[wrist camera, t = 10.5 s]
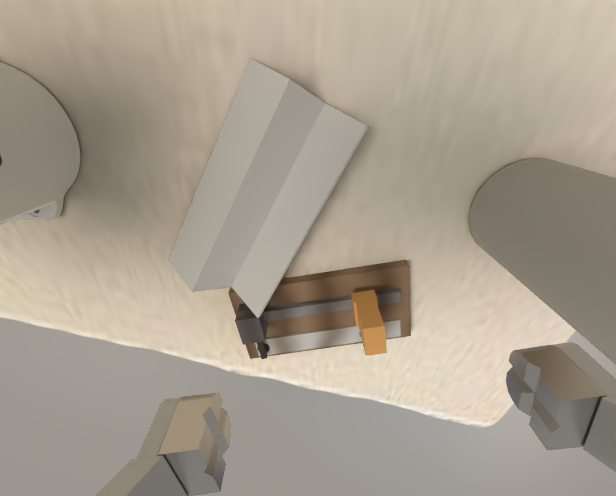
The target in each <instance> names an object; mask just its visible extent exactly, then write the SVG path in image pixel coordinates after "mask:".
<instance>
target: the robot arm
mask: <svg viewBox="0 0 616 496" xmlns="http://www.w3.org/2000/svg"><path fill="white" fill-rule="evenodd" d="M79 166H80V148H79V142H78V139H77V135H76V132H75V130H74V127H73V125H72V123H71V121H70V119H69V117H68V116H67V114H66V113H65V111H64V109H63V108H62V107H61V105H60V104H59V103H58V102H57V100H56V99H55V98H54V97H53V96H52V95H51V94H50V93H49V92H48V91H47V90H46V89H45V88H44V87H43V86H42V85H41V84H39V83H38V82H37V81H36V80H34V79H33V78H31V77H30V76H28V75H27V74H25V73H23V72H22V71H20V70H18V69H16V68H14V67H12V66H9V65H7V64H5V63H2V62H0V224H3V223H5V222H8V221H11V220H13V219H36V220H50V219H53V218H56V217H58V216H60V214H61V212H62V208H63V201H64V195H65V193H66V192H67V190H68V189H69V188H70V186H71V185H72V184H73V182H74V181H75V179H76V177H77V174H78V171H79ZM38 209H39V210H40V211H39V210H38ZM509 362H510V363H511V364H512V366H513V367H512V368H511V369H510V370H509V371H508V372H507V377H506V384H507V388H508V392H509V394H510V396H511V398H512V400H513V402H514V403H515V405H516V406H517V408H518V409H519V410H521V411H523V412H524V413H526V414H527V415H529V416H530V421H529V425H530V427H531V428H532V429H533V431H534V432H535V434H536V435H537V436H538V438H539V439H540V441H541V442H542V444H543V445H544V447H545V448H546V449H547V450H555V449H565V448H575V447H583V449H584V450H585V451H587V452H589V453H590V454H591V455H592V456H594V457H595V458H597V459H598V460H599V461H601V462H602V463H604V464H605V465H606V466H608V467H609V468H611V469H612V470H613V471H615V472H616V379H615V378H614V377H613V376H612V375H611V374H610V373H609V372H608V371H606V370H605V369H604V368H603V367H602V366H601V365H600V364H598V362H597V361H595V360H594V359H593V358H592V357H591V356H590V355H589V354H588V353H587V352H585V351H584V350H583V349H582V348H581V347H580V346H579V345H577V344H575V343H573V342H569V343H562V344H555V345H546V346H540V347H533V348H527V349H520V350H514V351H513V352H512V353H511V354H510V358H509ZM222 402H223V400H222V398H221V396H220V394H219V393H211V394H201V395H192V396H183V397H177V398H168V399H165V400H164V401H163V402H162V403H161V404H160V406H159V408H158V411H157V413H156V415H155V418H154V420H153V422H152V424H151V427H150V429H149V431H148V434H147V436H146V438H145V440H144V443H143V445H142V447H141V450H140V452H139V454H138V456H137V459H131V460H130V461H129V462H128V463H127V464H126V465H125V466H124V467H123V468H122V469H121V470H120V471H119V472H118V473H117V474H116V475H115V476H114V477H113V478H112V479H111V480H110V481H109V482H108V483H107V484H106V485H105V486H104V487H103V488H102V489H101V490H100V491H99V492H98V493H97V494H96V495H95V496H194V495H200V494H207V493H213V492H219V491H221V485H222V480H223V475H224V470H225V465H226V464H225V461H224V459H223V457H222V455H223V454H224V453H225V452H226V450H227V449H228V448H229V444H230V438H231V422H230V417H229V414H228V412H227V411H226V410H224V409H223V408H221V407H222Z"/></svg>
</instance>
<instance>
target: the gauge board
mask: <svg viewBox="0 0 616 496" xmlns="http://www.w3.org/2000/svg"><path fill="white" fill-rule="evenodd" d="M369 290H374V291H375V294H376V296H377V299H378V309H379V311H380V314H381V317H382V320H383V323H384V325H385V337H386V339H392V338H399V337H406V336H411V329H410V289H409V265H408V263H407V262H406V260H403V261H396V262H390V263H383V264H377V265H370V266H364V267H357V268H351V269H344V270H338V271H331V272H325V273H318V274H312V275H305V276H299V277H292V278H286V279H281V281H280V283H279V284H278V286H277V288H276V289H275V291H274V293H273V295H272V296H271V298H270V300H269V302H268V303H267V305H266V307H265V309H264V310H263V312H262V314H261V316H260V317H259V318H257V317H256V316H255V314H254V313H253V312H252V311H251V310H250V308H249V307H248V306H247V305H246V304H245V302H244V301H243V300H242V299H241V298H240V296H239V295H238V294H237V293H236V292H235V291H234V289H233V288H232V287H231V288H230V291H229V296H230V299H231V302H232V305H233V308H234V311H235V314H236V320H235V322H236V325H237V328H238V331H239V334H240V337H241V340H242V343H243V345H244V344H246V347H247V350H248V353H249V356H250V359H251V358H259V357H261V359H265V358H267V356H273V355H280V354H287V353H294V352H301V351H308V350H315V349H322V348H329V347H336V346H343V345H350V344H357V343H363V342H362V338H361V334H360V330H359V327H356V323H355V319H354V313H353V305H352V297H351V293H355V292H362V291H369Z"/></svg>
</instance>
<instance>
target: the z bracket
mask: <svg viewBox="0 0 616 496" xmlns="http://www.w3.org/2000/svg"><path fill="white" fill-rule="evenodd" d="M368 128H369V127H368V126H367V125H365V124H363V123H361V122H359V121H357V120H356V119H354V118H352V117H350V116H348V115H346V114H344V113H343V112H341V111H339V110H337V109H335V108H333V107H331V106H330V105H328V104H326V103H324V102H323V101H321V100H320V99H318V98H317V97H316V96H314V95H313V94H311V93H310V92H308V91H307V90H305V89H304V88H302V87H301V86H299V85H298V84H297V83H295V82H294V81H292V80H291V79H289V78H287V77H285V76H283V75H281V74H280V73H278V72H276V71H274V70H272V69H270V68H268V67H266V66H264V65H262V64H261V63H259V62H257V61H255V60H253V59H251V58H250V61H249V63H248V66H247V68H246V70H245V73H244V75H243V78H242V80H241V83H240V85H239V88H238V90H237V92H236V95H235V97H234V100H233V102H232V105H231V107H230V110H229V112H228V114H227V117H226V119H225V122H224V124H223V127H222V129H221V132H220V134H219V136H218V139H217V141H216V144H215V146H214V149H213V151H212V154H211V156H210V158H209V161H208V163H207V166H206V168H205V171H204V173H203V176H202V178H201V181H200V183H199V185H198V188H197V190H196V193H195V195H194V198H193V200H192V203H191V205H190V207H189V210H188V212H187V215H186V217H185V220H184V222H183V225H182V227H181V229H180V232H179V234H178V237H177V239H176V242H175V244H174V247H173V249H172V251H171V254H170V256H169V259H168V260H169V261H170V262H171V264H172V265H173V267H174V268H175V269H176V271H177V272H178V273H179V275H180V276H181V277H182V279H183V280H184V281H185V283H186V284H187V285H188V287H189V288H190V290H191V291H192V292H193V291H202V290H210V289H219V288H227V287H232V288H233V289H234V291H235V292H236V293H237V294H238V295H239V296H240V298H241V299H242V300H243V301H244V302H245V304H246V305H247V306H248V307H249V308H250V310H251V311H252V312H253V313H254V314H255V316H256V317H257V318H259V317H260V316H261V314H262V312H263V310H264V309H265V307H266V305H267V303H268V302H269V300H270V298H271V296H272V295H273V293H274V291H275V289H276V288H277V286H278V284H279V283H280V281H281V279H282V277H283V276H284V274H285V272H286V270H287V269H288V267H289V265H290V263H291V262H292V260H293V258H294V256H295V255H296V253H297V251H298V249H299V248H300V246H301V244H302V242H303V241H304V239H305V237H306V236H307V234H308V232H309V230H310V229H311V227H312V225H313V223H314V222H315V220H316V218H317V216H318V215H319V213H320V211H321V209H322V208H323V206H324V204H325V202H326V201H327V199H328V197H329V195H330V194H331V192H332V190H333V188H334V187H335V185H336V183H337V182H338V180H339V178H340V176H341V175H342V173H343V171H344V169H345V168H346V166H347V164H348V162H349V161H350V159H351V157H352V155H353V154H354V152H355V150H356V148H357V147H358V145H359V143H360V141H361V140H362V138H363V136H364V135H365V133H366V131H367V129H368Z"/></svg>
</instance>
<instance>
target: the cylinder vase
mask: <svg viewBox="0 0 616 496" xmlns="http://www.w3.org/2000/svg"><path fill="white" fill-rule="evenodd" d="M469 227H470V231H471V234H472V236H473V238H474V240H475V241H476V243H477V244H478V245H479V246H480V247H481V248H482V249H483V250H485V251H486V252H487V253H488V254H489V255H490V256H491V257H493V258H494V259H495V260H496V261H497V262H498V263H499V264H501V265H502V266H503V267H504V268H505V269H506V270H508V271H509V272H510V273H511V274H512V275H513V276H514V277H516V278H517V279H518V280H519V281H520V282H521V283H522V284H524V285H525V286H526V287H527V288H528V289H529V290H530V291H532V292H533V293H534V294H535V295H536V296H537V297H539V298H540V299H541V300H542V301H543V302H544V303H545V304H547V305H548V306H549V307H550V308H551V309H552V310H553V311H555V312H556V313H557V314H558V315H559V316H560V317H562V318H563V319H564V320H565V321H566V322H567V323H568V324H570V325H571V326H572V327H573V328H574V329H575V330H576V331H578V332H579V333H580V334H581V335H582V336H583V337H584V338H586V339H587V340H588V341H589V342H590V343H591V344H593V345H594V346H595V347H596V348H598V350H599V351H601V352H602V353H603V354H604V355H605V356H606V357H608V358H609V359H610V360H611V361H612V362H613V363H615V364H616V178H612V177H609V176H605V175H602V174H598V173H595V172H591V171H588V170H584V169H581V168H577V167H574V166H570V165H566V164H563V163H559V162H556V161H552V160H548V159H542V158H532V159H525V160H521V161H518V162H515V163H512V164H510V165H508V166H506V167H504V168H502V169H501V170H499V171H498V172H496V173H495V174H494V175H493V176H491V177H490V178H489V179H488V180H487V181H486V182H485V183H484V185H483V186H482V187H481V188H480V190H479V191H478V193H477V194H476V196H475V198H474V200H473V203H472V205H471V209H470V213H469Z"/></svg>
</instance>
